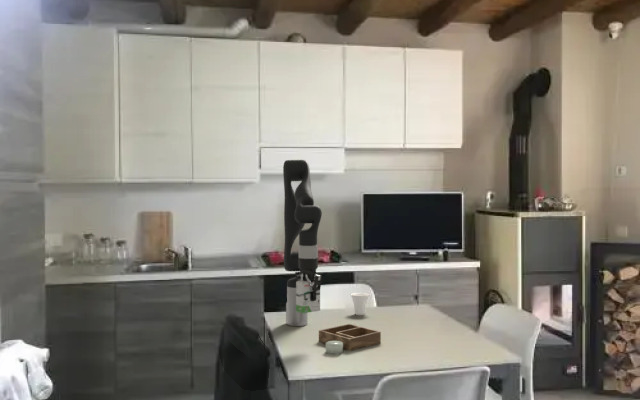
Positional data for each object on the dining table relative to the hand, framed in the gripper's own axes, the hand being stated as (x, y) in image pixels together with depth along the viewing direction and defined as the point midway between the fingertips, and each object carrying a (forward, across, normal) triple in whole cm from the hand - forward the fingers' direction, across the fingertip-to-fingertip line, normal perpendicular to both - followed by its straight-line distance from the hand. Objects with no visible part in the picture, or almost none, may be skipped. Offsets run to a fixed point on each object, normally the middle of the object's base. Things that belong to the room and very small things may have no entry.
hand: (308, 299), depth 225 cm
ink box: (+5, 0, 0) cm, 5 cm away
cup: (+19, -27, +55) cm, 64 cm away
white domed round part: (+18, +13, +2) cm, 23 cm away
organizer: (+18, +7, +15) cm, 25 cm away
